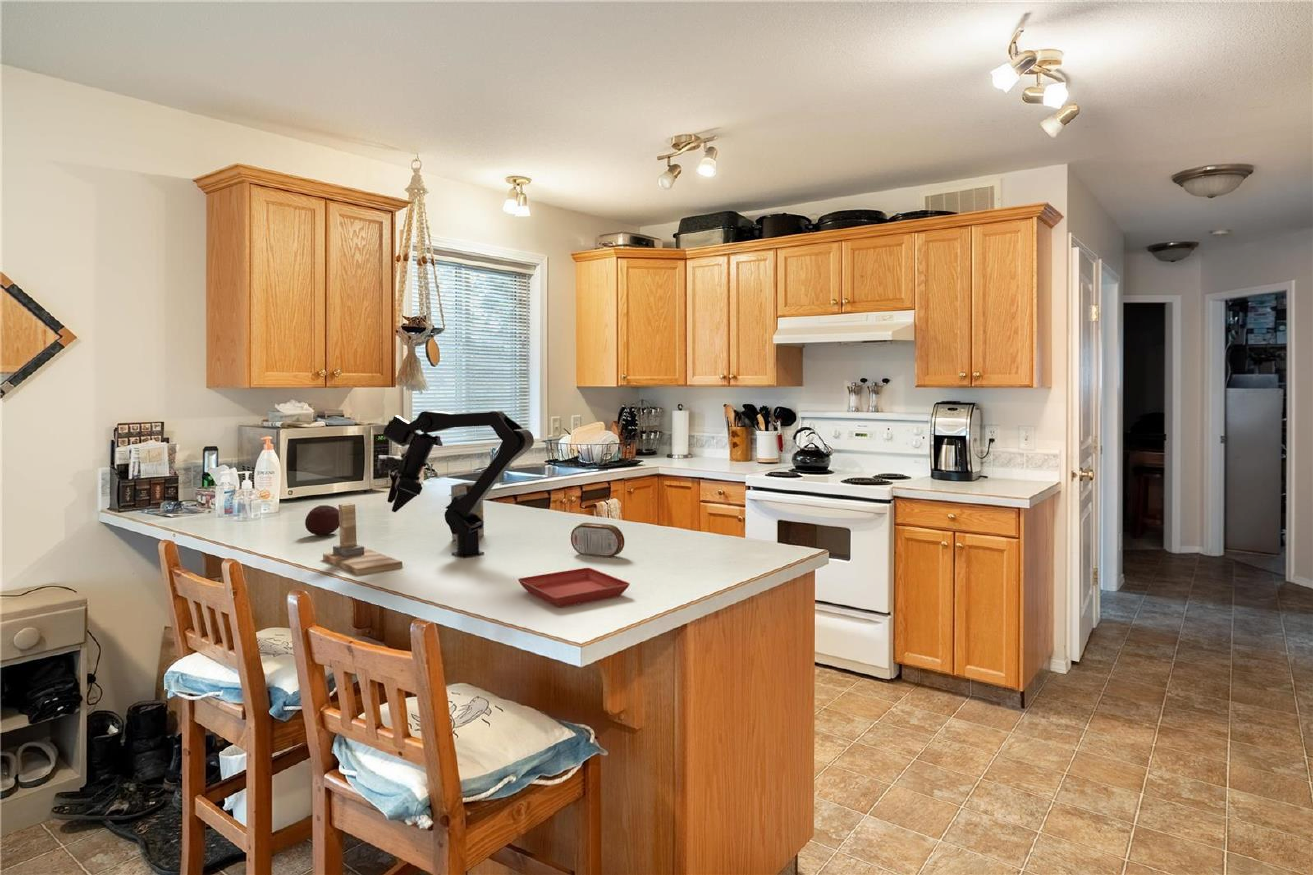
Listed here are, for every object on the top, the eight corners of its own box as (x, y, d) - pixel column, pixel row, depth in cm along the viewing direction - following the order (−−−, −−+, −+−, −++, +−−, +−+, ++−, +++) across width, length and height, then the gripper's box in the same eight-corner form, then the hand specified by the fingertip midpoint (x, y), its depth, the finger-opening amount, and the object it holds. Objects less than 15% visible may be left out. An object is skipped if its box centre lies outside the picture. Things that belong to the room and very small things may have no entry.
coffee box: (472, 540, 227) (470, 485, 226) (451, 540, 229) (449, 485, 228) (485, 534, 236) (483, 481, 235) (465, 534, 238) (463, 481, 237)
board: (402, 567, 194) (402, 561, 194) (358, 575, 187) (357, 568, 187) (364, 553, 212) (364, 547, 212) (323, 559, 205) (322, 553, 205)
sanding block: (364, 554, 203) (362, 504, 202) (345, 557, 200) (343, 506, 199) (351, 550, 208) (349, 502, 207) (333, 553, 204) (331, 504, 203)
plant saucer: (631, 598, 165) (631, 582, 165) (555, 613, 155) (555, 596, 155) (588, 581, 180) (588, 566, 180) (516, 593, 170) (516, 578, 169)
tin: (625, 556, 204) (624, 524, 203) (619, 559, 201) (619, 526, 200) (575, 552, 210) (574, 521, 210) (569, 554, 207) (568, 523, 207)
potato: (349, 532, 243) (348, 503, 242) (318, 540, 232) (317, 508, 231) (327, 531, 246) (326, 501, 245) (297, 538, 235) (295, 507, 234)
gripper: (384, 435, 213) (358, 487, 213) (392, 449, 197) (365, 505, 197) (422, 451, 219) (397, 501, 218) (433, 466, 202) (407, 521, 202)
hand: (391, 506), depth 209 cm, fingers open, 9 cm apart
